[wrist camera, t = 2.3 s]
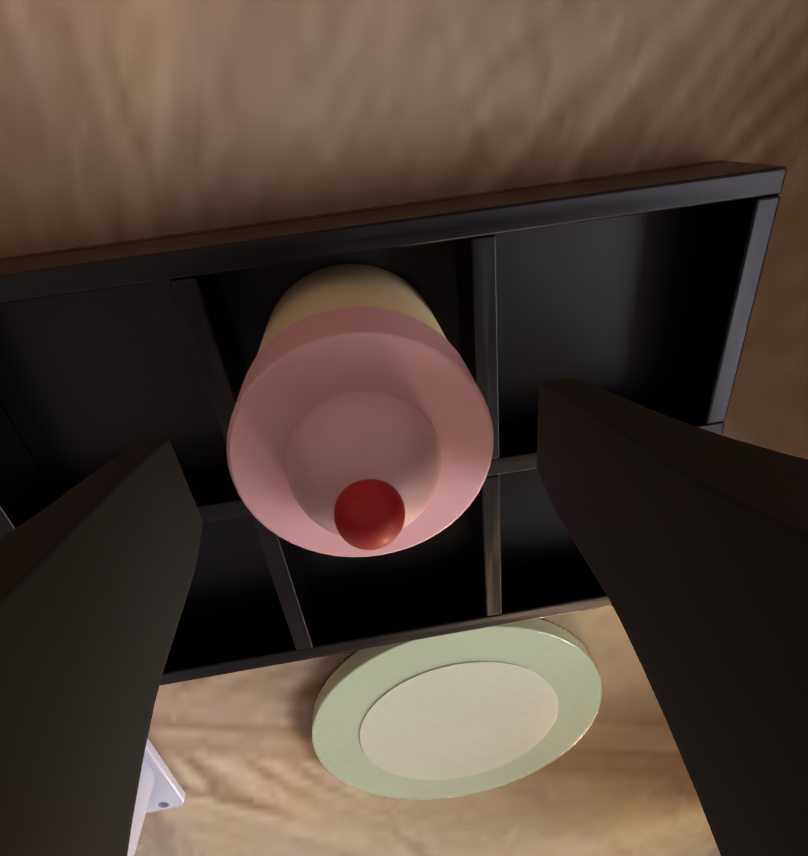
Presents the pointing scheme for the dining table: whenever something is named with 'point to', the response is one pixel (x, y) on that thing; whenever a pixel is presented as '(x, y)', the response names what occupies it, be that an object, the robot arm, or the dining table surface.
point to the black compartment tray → (462, 326)
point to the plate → (456, 710)
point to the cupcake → (357, 418)
